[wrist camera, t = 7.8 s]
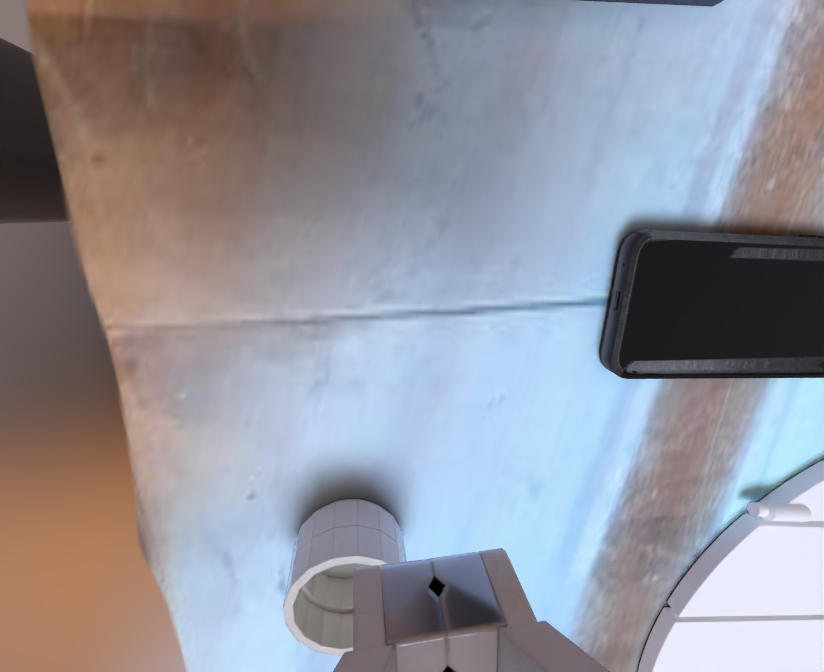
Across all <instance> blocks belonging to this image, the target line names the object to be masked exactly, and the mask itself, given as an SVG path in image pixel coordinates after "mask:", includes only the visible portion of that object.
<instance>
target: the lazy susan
mask: <svg viewBox="0 0 824 672" xmlns="http://www.w3.org/2000/svg"><path fill="white" fill-rule="evenodd" d="M747 510H748V512H749V514H747V513H744V514H743V515H742V516H741V517H739V518H738V519H737V520H736V521H735V522H734V523H733V524H732V525H731V526H729V527H728V528H727V529H726V530H725V531H724V532H723V533H722V534H721V535H720V536H719V537H718V538H717V539H716V540H715V541H714V542H713V543H712V544H711V545H710V547H709V548H708V549H707V550H706V551H705V552H704V553H703V554H702V555H701V557H700V558H699V559H698V560H697V561H696V562H695V564H694V565H693V566H692V567H691V568H690V570H689V571H688V572H687V574H686V575H685V576H684V578H683V579H682V580H681V582H680V583H679V585H678V586H677V587H676V589H675V590H674V592H673V593H672V595H671V596H670V598H669V600H668V601H667V603H668V604H669V605H670V607H664V608H663V610H662V611H661V613H660V615H659V617H658V619H657V621H656V623H655V625H654V627H653V629H652V631H651V633H650V636H649V638H648V641H647V643H646V646H645V649H644V651H643V654H642V658H641V661H640V665H639V669H638V672H824V460H822V461H820V462H818V463H816V464H815V465H813V466H811V467H809V468H808V469H806V470H804V471H803V472H801V473H799V474H798V475H796V476H794V477H793V478H791V479H790V480H788V481H787V482H785V483H784V484H782V485H781V486H779V487H778V488H776V489H775V490H774V491H772V492H771V493H769V494H768V495H767V496H765V497H764V498H763V499H761V500H760V501H759V502H750V503H748V505H747Z"/></svg>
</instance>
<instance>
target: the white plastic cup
mask: <svg viewBox="0 0 824 672" xmlns="http://www.w3.org/2000/svg"><path fill="white" fill-rule="evenodd" d="M398 562H407V560H406V554H405V547H404V541H403V534H402V530H401V529H400V527H399V525H398V523H397V521H396V520H395V518H394V517H393V515H391V514H390V513H389V512H387V511H386V510H384V509H383V508H382V507H380V506H379V505H377V504H375V503H372V502H369V501H366V500H361V499H345V500H339V501H336V502H333V503H330V504H328V505H326V506H324V507H322V508H321V509H319V510H318V511H316V512H314V513H313V514H312V515H311V516H310V517H309V518H308V519H307V520H306V521H305V522H304V523H303V524H302V525H301V528H300V530H299V532H298V535H297V538H296V540H295V543H294V549H293V555H292V560H291V566H290V572H289V577H288V582H287V588H286V593H285V599H284V605H283V608H284V616H285V623H286V626H287V628H288V629H289V630H290V632H291V633H292V634H293V636H294V637H295V638H296V640H297V641H299V642H300V643H301V644H303V645H305V646H307V647H309V648H311V649H312V650H314V651H316V652H320V653H326V654H333V655H343V654H344V652H348V651H353V575H354V569H355V568H357V567H367V566H376V565H380V568H381V564H389V563H398ZM381 580H382V576H381ZM382 593H383V590H382ZM383 605H384V604H383Z"/></svg>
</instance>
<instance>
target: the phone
mask: <svg viewBox="0 0 824 672" xmlns="http://www.w3.org/2000/svg"><path fill="white" fill-rule="evenodd" d="M600 359H601V362H602V364H603V366H604V367H605V368H606V369H608V370H610V371H611V372H613V373H615V374H616V375H618V376H620V377H621V378H626V379H674V378H824V236H817V238H816V236H815V235H799V237H791V236H770V235H750V234H729V233H709V232H689V231H668V230H648V229H642V230H636V231H634V232H632V233H630V234H629V235H628V236H627V237H626V238H625V239H624V240H623V242H622V243H621V245H620V248H619V252H618V257H617V262H616V268H615V273H614V279H613V284H612V290H611V295H610V301H609V306H608V312H607V317H606V323H605V328H604V334H603V340H602V345H601V351H600Z"/></svg>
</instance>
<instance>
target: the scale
mask: <svg viewBox="0 0 824 672" xmlns="http://www.w3.org/2000/svg"><path fill="white" fill-rule="evenodd" d="M584 1H606V2H628V3H651V4H673V5H696V6H714V5H716V4H718V3H720V2H721V1H723V0H584Z"/></svg>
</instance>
